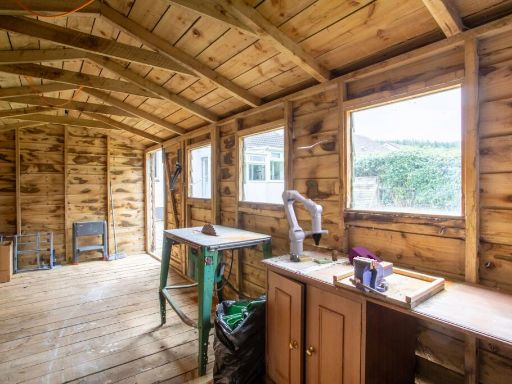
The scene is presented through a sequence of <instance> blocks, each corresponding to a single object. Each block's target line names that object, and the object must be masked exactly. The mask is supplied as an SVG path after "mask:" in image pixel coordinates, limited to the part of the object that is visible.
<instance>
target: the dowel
mask: <svg viewBox="0 0 512 384" xmlns="http://www.w3.org/2000/svg"><path fill="white" fill-rule="evenodd" d="M331 260H332V262H338V261H339V260H338V250H337V249H335V250H331Z"/></svg>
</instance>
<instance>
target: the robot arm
mask: <svg viewBox="0 0 512 384" xmlns="http://www.w3.org/2000/svg"><path fill="white" fill-rule="evenodd" d="M281 199H282V202H283V206H284V207H283V208H284V211H285V213H286V217H287V220H288V223H289V227H290V229H289V230H288V234H289V235H288V237H289V240H290V243H289V249H290V250H289V252H288V254H290V253H295V255H299V256H302V255H306V254H305V253H303V252H304V251H303V250H304V249H303V246H304V245H303V241H304V239H305V238H306V236H308V235H311V236H312V238H313V241H314V245H315V246H316V247H319V245H320V241H321V238H322V236H323V234H326V235H328V234H329V230H328V229H326V230H325V229H324V230H323V229H322V215H321V214H322V213H323V209H324V208H323V206H322V205H321V204H317V203H316V202H314V201H313V200H312V199H310V198H305V197H304V196H302V195H301V194H300V193H299V191H297V190H296V189H292V190H291V189H290V190H287V189H286V190H285V189H284V190H283V191H282V193H281ZM296 200H297V202H300V203H301V204H302V206H303V207H304V208H305V209H307V210H308V211H309V214H310V216H311V230H305V231H303V228H302V227H301V226H299V224H298V223H299V222H298V220H297V218H296V213H295V210H294V206H293V203H295V201H296Z"/></svg>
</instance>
